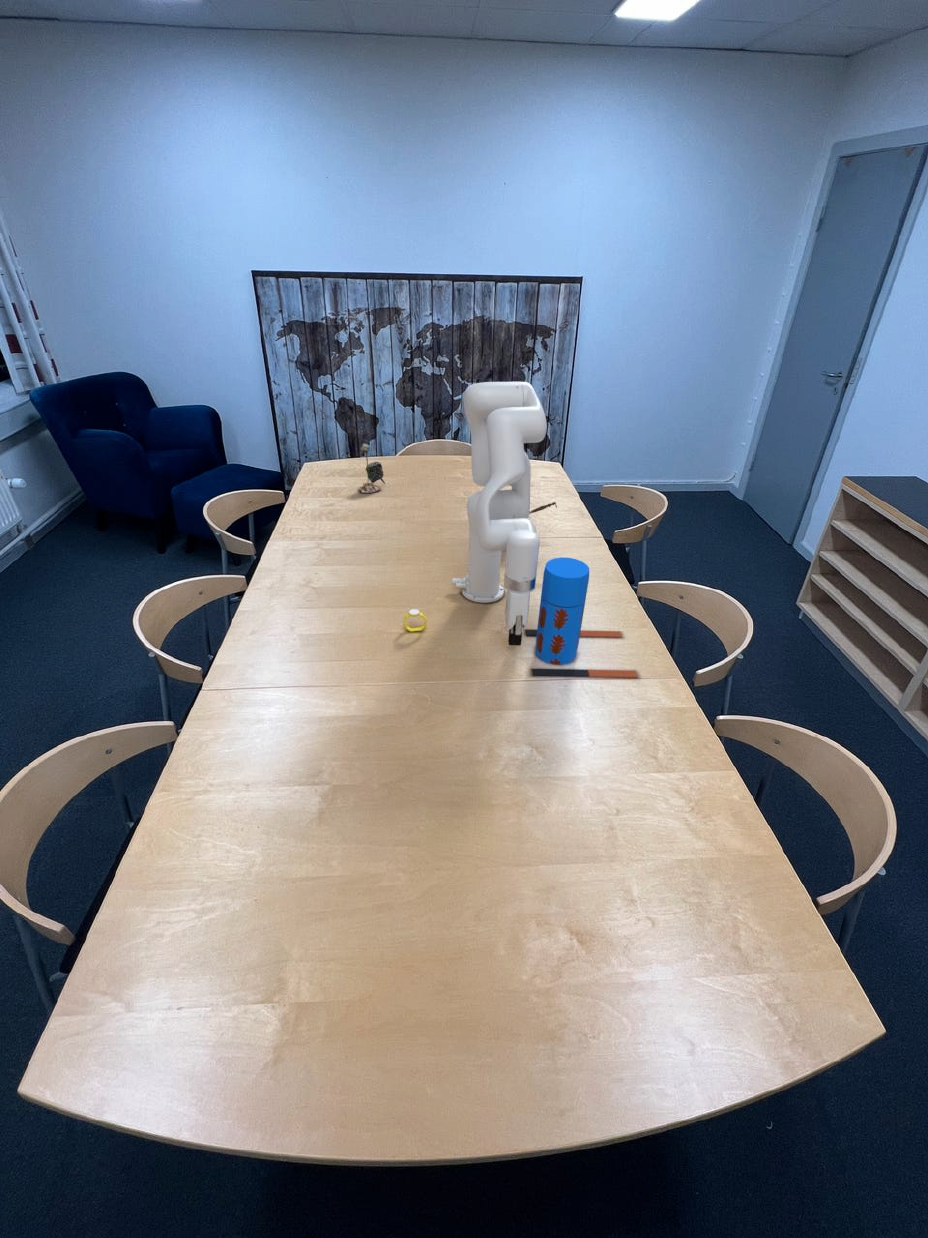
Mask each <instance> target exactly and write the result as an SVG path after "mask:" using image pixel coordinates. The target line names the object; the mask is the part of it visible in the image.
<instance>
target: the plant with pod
mask: <svg viewBox="0 0 928 1238" xmlns="http://www.w3.org/2000/svg"><path fill="white" fill-rule="evenodd" d="M370 448H371V446H370V444H367V443H362V445H361V447H360V452H359V454H360V455H361V454H362V453H364V454H365V458H366V467H365V472H366V476H367V479H368V481H370V482H363V486H360V487H358V489H359V493H363V494H367V493H371V494H372V493H375V492H378V491H380V488H379V487H378V486H377V485H374V483H376V482H377V481H381V482H382V484H384V485H386V482H385V480H384V479H383V478H384V471H383V466H382V462H380V461H377V460H376V461H374V462H373V461H372V462H370V463H369V460H368V459H369V458H368V453H369V452H370Z"/></svg>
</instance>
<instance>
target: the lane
mask: <svg viewBox="0 0 928 1238" xmlns="http://www.w3.org/2000/svg"><path fill="white" fill-rule="evenodd" d="M524 630H525V636H526V637H536V636H537V629H527V628H525V629H524ZM579 638H610V639H611V638H615V639H617V638H618V639H622V638H623V634H622V632H621V631H615V630H614V631H613V630H581V631H580V637H579ZM531 675H532V677H565V678H567V677H568V678H611V679H612V678H614V679H615V678H616V679H638V678H639V676H638V673H637V671H636V670H621V669H619V670H618V669H617V670H616V669H571V668H570V669H569V668H568V669H566V668H563V669H562V668H531Z"/></svg>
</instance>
